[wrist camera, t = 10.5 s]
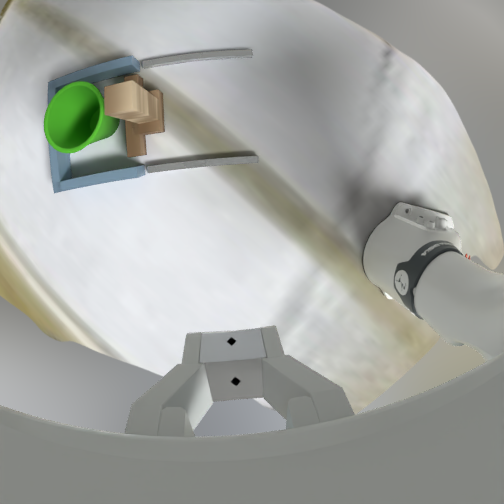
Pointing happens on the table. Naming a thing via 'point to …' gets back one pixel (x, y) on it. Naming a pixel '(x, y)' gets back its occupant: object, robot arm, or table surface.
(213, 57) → the track
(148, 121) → the stepped wooden block
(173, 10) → the table surface
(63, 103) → the cup
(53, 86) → the bay
